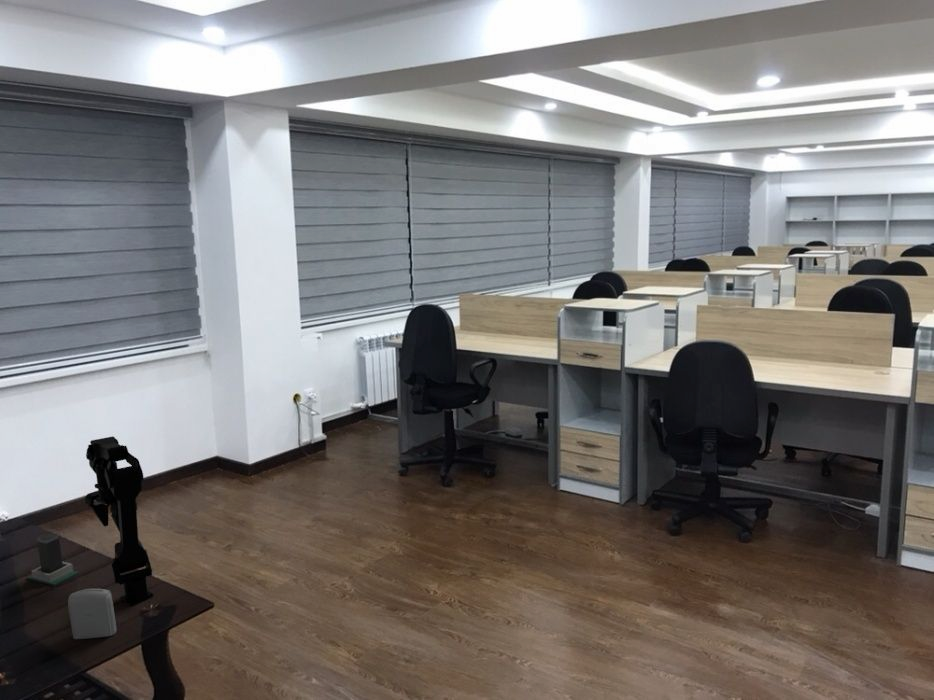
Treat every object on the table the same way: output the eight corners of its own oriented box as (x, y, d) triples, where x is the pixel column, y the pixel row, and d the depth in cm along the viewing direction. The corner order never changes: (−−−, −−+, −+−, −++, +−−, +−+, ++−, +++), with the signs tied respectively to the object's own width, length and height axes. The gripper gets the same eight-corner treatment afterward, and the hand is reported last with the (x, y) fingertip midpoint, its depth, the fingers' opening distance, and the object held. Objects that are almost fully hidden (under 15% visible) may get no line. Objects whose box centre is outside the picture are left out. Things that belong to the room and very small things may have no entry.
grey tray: (79, 573, 221) (78, 564, 220) (54, 586, 214) (53, 577, 213) (51, 566, 226) (50, 558, 225) (27, 578, 218) (25, 569, 218)
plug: (63, 572, 220) (58, 534, 218) (51, 578, 217) (45, 540, 215) (54, 569, 222) (48, 532, 220) (41, 576, 219) (35, 538, 216)
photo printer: (70, 641, 185) (63, 595, 183) (77, 631, 190) (71, 587, 187) (113, 637, 186) (107, 592, 184) (119, 628, 191) (113, 584, 188)
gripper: (151, 477, 218) (156, 527, 221) (117, 465, 229) (123, 513, 231) (114, 489, 209) (120, 541, 212) (81, 476, 220) (87, 526, 223)
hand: (114, 529), depth 220 cm, fingers open, 9 cm apart
